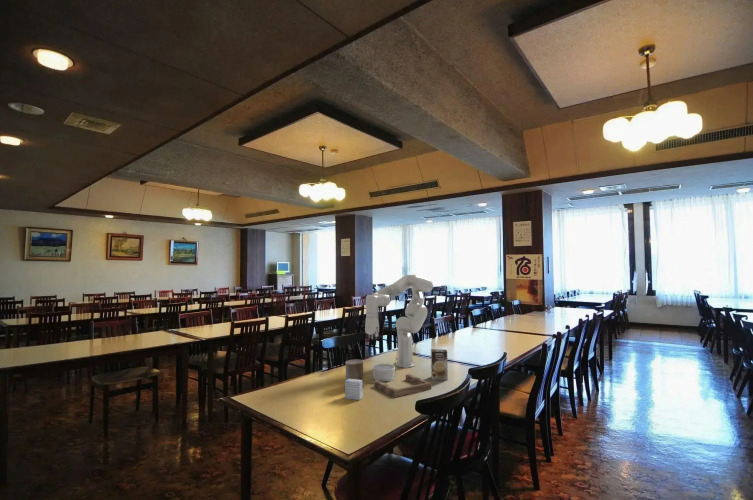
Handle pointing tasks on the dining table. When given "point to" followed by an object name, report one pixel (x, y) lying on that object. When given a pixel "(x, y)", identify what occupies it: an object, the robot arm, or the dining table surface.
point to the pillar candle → (354, 369)
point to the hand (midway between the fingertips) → (372, 345)
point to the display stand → (420, 386)
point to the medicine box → (353, 389)
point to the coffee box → (439, 364)
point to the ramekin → (384, 372)
